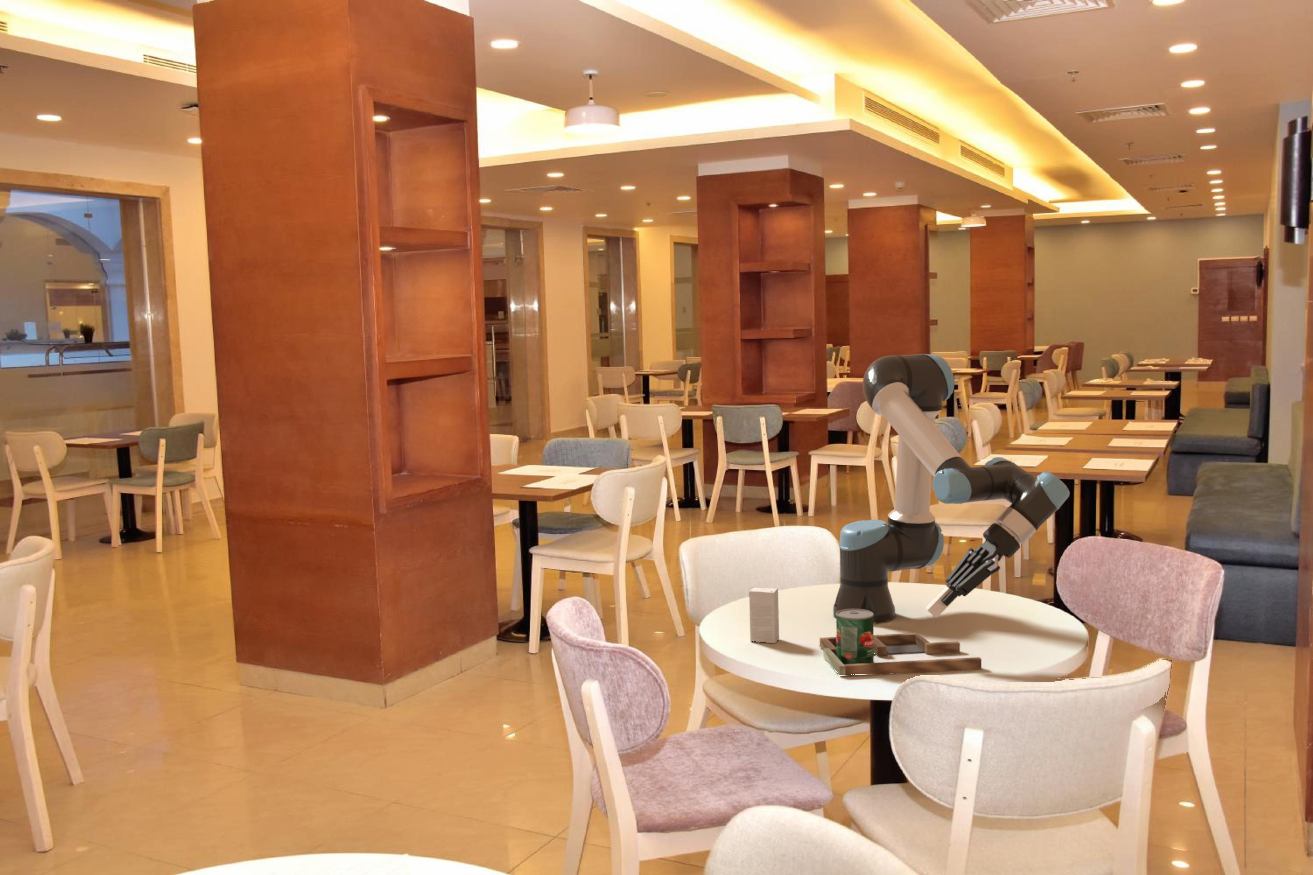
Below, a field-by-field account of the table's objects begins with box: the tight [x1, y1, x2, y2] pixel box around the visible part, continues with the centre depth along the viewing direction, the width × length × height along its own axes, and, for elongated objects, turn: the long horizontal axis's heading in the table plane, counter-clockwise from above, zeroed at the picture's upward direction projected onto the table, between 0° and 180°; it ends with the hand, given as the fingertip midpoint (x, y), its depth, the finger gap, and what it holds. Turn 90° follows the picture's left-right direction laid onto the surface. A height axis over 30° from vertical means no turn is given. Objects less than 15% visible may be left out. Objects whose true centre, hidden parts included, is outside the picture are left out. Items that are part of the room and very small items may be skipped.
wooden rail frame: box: [819, 632, 982, 675], centre depth 242 cm, size 30×22×2 cm
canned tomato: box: [835, 609, 875, 664], centre depth 238 cm, size 8×8×11 cm
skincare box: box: [748, 587, 780, 644], centre depth 257 cm, size 6×4×12 cm
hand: (930, 613), depth 238 cm, fingers closed
